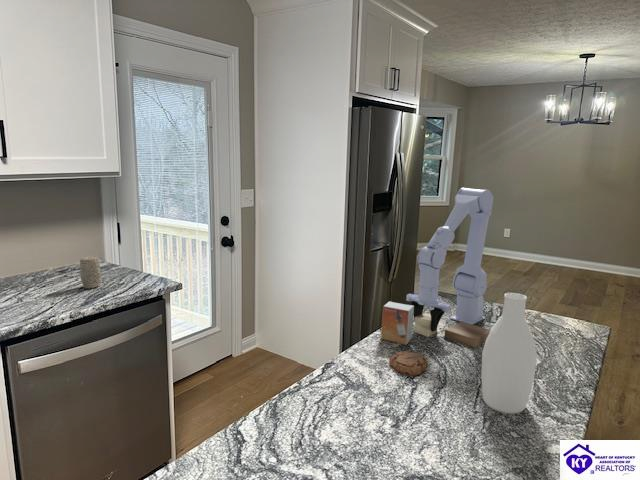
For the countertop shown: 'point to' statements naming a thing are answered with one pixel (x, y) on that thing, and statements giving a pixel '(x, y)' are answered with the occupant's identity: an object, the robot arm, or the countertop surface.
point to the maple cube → (423, 325)
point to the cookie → (408, 363)
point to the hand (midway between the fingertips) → (425, 328)
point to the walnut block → (467, 334)
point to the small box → (397, 322)
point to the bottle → (509, 359)
